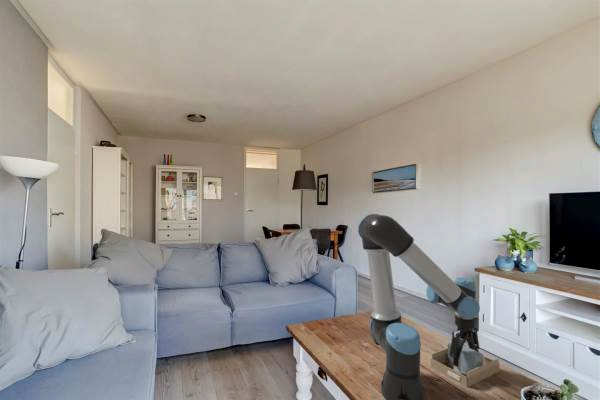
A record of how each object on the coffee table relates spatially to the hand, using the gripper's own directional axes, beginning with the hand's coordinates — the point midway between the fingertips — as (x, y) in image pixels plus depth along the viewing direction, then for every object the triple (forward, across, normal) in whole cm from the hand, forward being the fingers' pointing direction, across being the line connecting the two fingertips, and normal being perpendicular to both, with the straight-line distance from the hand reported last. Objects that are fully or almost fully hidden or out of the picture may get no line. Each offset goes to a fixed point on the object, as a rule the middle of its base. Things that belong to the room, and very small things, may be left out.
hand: (464, 369), depth 125 cm
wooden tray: (0, 0, 0) cm, 0 cm away
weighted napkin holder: (0, 0, 0) cm, 0 cm away
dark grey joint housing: (0, -9, +40) cm, 41 cm away
